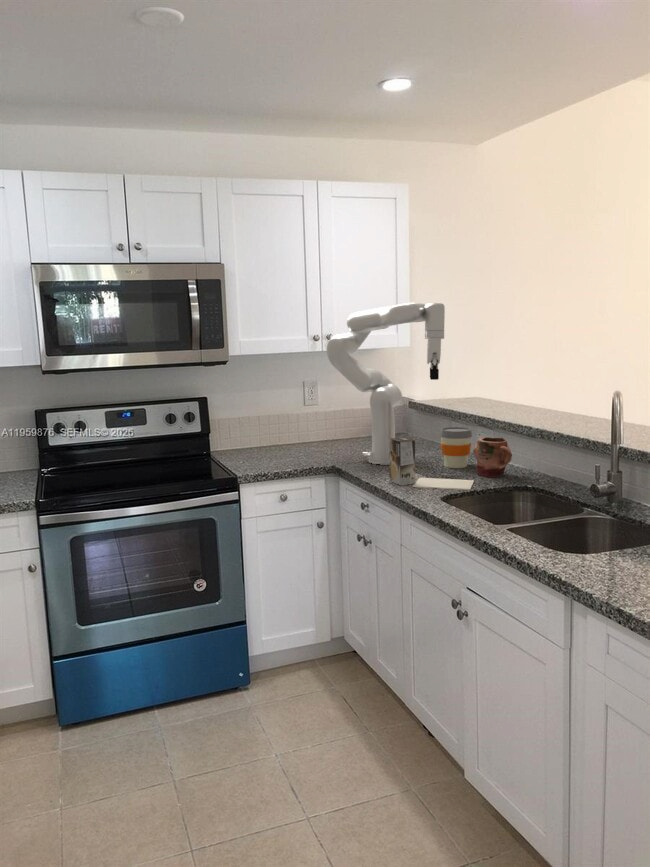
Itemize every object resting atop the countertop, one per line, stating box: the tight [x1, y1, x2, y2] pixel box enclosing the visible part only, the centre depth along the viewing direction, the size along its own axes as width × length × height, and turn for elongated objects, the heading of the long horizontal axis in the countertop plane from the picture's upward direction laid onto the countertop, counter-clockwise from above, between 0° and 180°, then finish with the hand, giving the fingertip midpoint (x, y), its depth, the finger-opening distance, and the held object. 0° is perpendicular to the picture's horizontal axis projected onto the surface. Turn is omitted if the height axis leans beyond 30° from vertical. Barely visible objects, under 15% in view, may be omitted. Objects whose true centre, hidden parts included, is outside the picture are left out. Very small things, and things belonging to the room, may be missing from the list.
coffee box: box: [388, 436, 416, 486], centre depth 259 cm, size 9×6×16 cm
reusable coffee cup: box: [439, 426, 473, 469], centre depth 286 cm, size 13×13×15 cm
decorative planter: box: [472, 437, 513, 478], centre depth 268 cm, size 20×12×14 cm, turn 30°
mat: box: [412, 477, 475, 491], centre depth 255 cm, size 20×14×1 cm
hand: (434, 378), depth 282 cm, fingers open, 9 cm apart
